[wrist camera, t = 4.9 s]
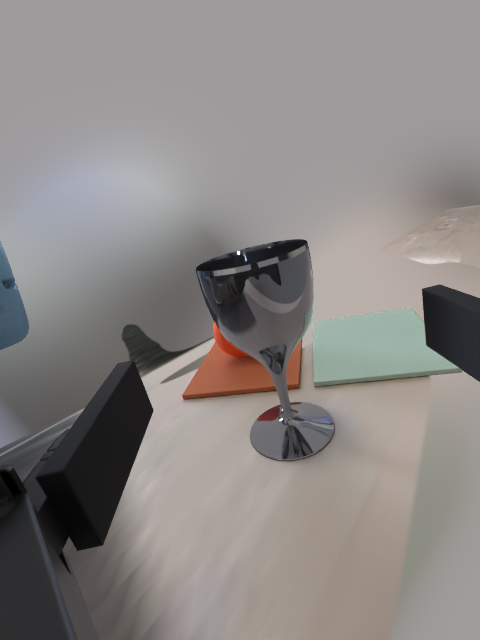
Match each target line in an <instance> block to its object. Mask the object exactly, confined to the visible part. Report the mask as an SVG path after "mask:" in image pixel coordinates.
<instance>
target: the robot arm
mask: <svg viewBox="0 0 480 640" xmlns="http://www.w3.org/2000/svg"><path fill="white" fill-rule="evenodd" d="M422 295H423V309H424V324H425V338H426V346H427V347H429V348H430V349H432V350H433V351H435V352H436V353H438V354H439V355H441V356H442V357H444V358H445V359H447V360H448V361H450V362H451V363H453V364H454V365H456V366H457V367H459V368H460V369H462V370H463V371H464V372H466V373H468V374H469V375H470V376H472V377H474V378H475V379H476V380H478V381H479V382H480V298H477V297H474V296H472V295H469V294H466V293H463V292H460V291H457V290H454V289H451V288H448V287H445V286H443V285H436V286H432V287H428V288H424V289H422ZM28 330H29V324H28V319H27V315H26V311H25V308H24V305H23V302H22V299H21V296H20V293H19V290H18V287H17V285H16V284H15V279H14V277H13V274H12V270H11V267H10V264H9V262H8V259H7V256H6V254H5V251H4V249H3V246H2V244H1V242H0V350H2V349H4V348H7V347H9V346H12V345H14V344H16V343H18V342H20V341H22V340H23V339H24V338H25V337H26V335H27V334H28ZM152 413H153V408H152V405H151V403H150V400H149V398H148V395H147V393H146V390H145V387H144V385H143V382H142V380H141V377H140V375H139V372H138V370H137V367H136V365H135V362H134V360H131V361H127V362H123V363H119V364H117V365H116V367H115V368H114V369H113V371H112V372H111V373H110V375H109V376H108V378H107V379H106V380H105V382H104V383H103V385H102V386H101V387H100V389H99V390H98V391H97V393H96V394H95V395H94V397H93V398H92V400H91V401H90V402H89V404H88V405H87V406H86V408H85V409H84V411H83V412H82V413H81V415H80V416H79V417H78V419H77V420H76V422H75V423H74V424H73V426H72V427H71V428H70V429H67V430H66V431H65V432H64V433H63V434H61V435H60V436H59V437H58V438H57V439H56V440H55V441H54V442H53V443H52V445H51V446H50V447H49V449H48V450H47V453H45V454H44V455H43V457H42V458H41V459H40V462H38V463H37V465H36V466H35V467H34V469H33V470H32V471H31V473H30V474H29V475H28V476H27V478H26V479H25V480H24V482H23V483H22V482H21V480H20V478H19V477H18V475H17V473H16V471H15V470H14V468H13V467H11V466H0V640H100V639H99V637H98V634H97V632H96V629H95V627H94V624H93V622H92V619H91V617H90V614H89V612H88V609H87V607H86V604H85V602H84V599H83V597H82V594H81V592H80V589H79V587H78V584H77V582H76V579H75V577H74V574H73V571H72V569H71V566H70V564H69V561H68V559H67V557H66V555H65V554H64V552H63V550H62V549H63V547H64V545H65V543H66V541H67V539H68V537H70V539H71V540H72V542H73V544H74V546H75V547H76V549H77V551H79V550H83V549H88V548H92V547H97V546H101V545H103V544H104V541H105V538H106V536H107V533H108V530H109V528H110V525H111V522H112V520H113V517H114V514H115V512H116V509H117V506H118V504H119V501H120V498H121V496H122V493H123V490H124V488H125V485H126V482H127V480H128V477H129V474H130V472H131V469H132V466H133V464H134V461H135V458H136V456H137V453H138V450H139V448H140V445H141V442H142V440H143V437H144V434H145V432H146V429H147V426H148V424H149V421H150V418H151V416H152Z"/></svg>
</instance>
